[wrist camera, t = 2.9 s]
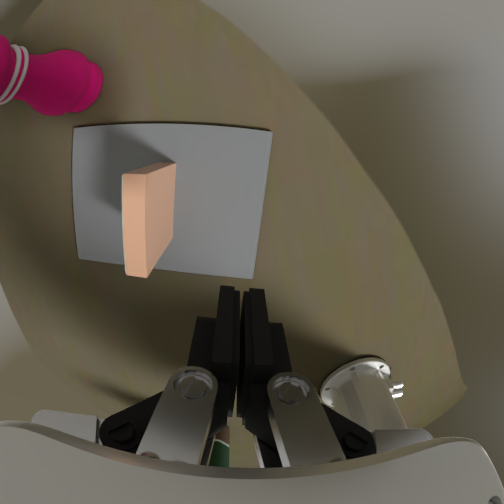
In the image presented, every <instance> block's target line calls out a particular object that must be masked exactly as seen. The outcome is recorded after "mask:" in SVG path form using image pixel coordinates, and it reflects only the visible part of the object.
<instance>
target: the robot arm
mask: <svg viewBox="0 0 504 504" xmlns="http://www.w3.org/2000/svg"><path fill="white" fill-rule="evenodd" d="M389 377H390V369H389V366H388V365H387V363H386V362H385V361H384V360H382V359H379V358H374V357H370V358H362V359H358V360H355V361H352V362H349V363H347V364H345V365H343V366H341V367H340V368H338V369H337V370H335V371H334V372H333V373H331V374H330V375H329V376H328V377H327V378H326V380H325V381H324V382H323V384H322V386H321V389H320V394H321V398H322V400H323V402H324V403H326V404H327V405H329V406H333V407H334V410H335V411H334V410H332V409H331V408H329V407H327V406H326V405H324V404H322V403H321V402H320V399H319V397H318V395H317V393H316V390H315V388H314V386H313V385H312V383H311V382H310V381H309V380H308V379H307V378H306V377H304V376H302V375H300V374H297V373H293V372H292V369H291V364H290V359H289V354H288V349H287V344H286V339H285V334H284V329H283V325H282V323H269V321H268V314H267V307H266V300H265V292H264V289H255V288H250V289H249V292H247V291H244V294H243V302H242V310H241V318H240V291H235V290H234V287H232V286H220V293H219V301H218V310H217V318H207V317H197V320H196V325H195V330H194V335H193V339H192V344H191V349H190V354H189V359H188V365H187V367H183V368H180V369H178V370H176V371H175V372H173V373H172V375H171V376H170V377H169V379H168V382H167V384H166V386H165V388H164V390H163V391H162V392H160V393H158V394H156V395H154V396H152V397H150V398H148V399H146V400H144V401H142V402H139V403H137V404H135V405H133V406H131V407H129V408H127V409H125V410H122V411H120V412H118V413H116V414H114V415H111V416H110V417H108V418H106V419H98V417H97V416H91V415H81V414H73V413H66V412H59V411H53V410H41V411H38V412H37V413H36V414H35V415H34V416H33V418H32V420H31V422H23V421H1V422H0V504H504V488H503V486H502V483H501V481H500V479H499V476H498V474H497V472H496V469H495V468H494V465H493V464H492V461H491V460H490V458H489V456H488V455H487V453H486V452H485V450H484V449H483V448H482V446H481V445H480V444H478V443H477V442H476V441H474V440H471V439H467V438H462V437H443V438H436V439H433V438H432V436H431V435H430V433H428V431H426V430H424V429H408V428H407V426H406V424H405V422H404V419H403V417H402V415H401V413H400V411H399V408H398V406H397V404H396V402H395V400H394V398H397V397H401V396H402V392H403V391H402V388H401V387H402V386H403V382H402V381H395V382H392V381H391V380H390V378H389ZM236 386H237V417H242V425H245V428H246V429H247V430H249V431H250V432H251V433H252V434H253V439H254V443H255V448H256V452H257V456H258V460H259V464H260V468H231V467H215V466H208V465H209V461H210V457H211V453H212V448H213V444H214V440H215V434H217V433H218V432H220V431H221V430H222V429H224V428H225V427H226V424H227V417H232V414H233V407H234V400H235V393H236Z"/></svg>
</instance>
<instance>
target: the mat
mask: <svg viewBox="0 0 504 504" xmlns="http://www.w3.org/2000/svg"><path fill="white" fill-rule="evenodd" d="M272 135H273V132H269V131H262V130H254V129H245V128H236V127H225V126H211V125H194V124H119V125H103V126H90V127H80V128H74V133H73V154H72V189H73V210H74V223H75V233H76V242H77V250H78V257H79V259H84V260H91V261H98V262H105V263H113V264H121V265H125V261H124V248H123V229H122V175H123V174H124V173H127V172H130V171H133V170H136V169H139V168H142V167H145V166H149V165H152V164H155V163H159V162H166V163H176V176H175V193H174V216H173V238H172V240H171V241H170V243H169V245H168V246H167V248H166V249H165V251H164V252H163V254H162V255H161V257H160V258H159V260H158V261H157V263H156V265H155V266H154V268H153V269H161V270H170V271H178V272H187V273H197V274H206V275H216V276H226V277H236V278H246V279H253V273H254V266H255V259H256V252H257V245H258V237H259V230H260V223H261V216H262V209H263V201H264V194H265V187H266V179H267V172H268V165H269V157H270V150H271V142H272Z"/></svg>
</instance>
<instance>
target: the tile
mask: <svg viewBox="0 0 504 504" xmlns="http://www.w3.org/2000/svg"><path fill="white" fill-rule="evenodd" d="M175 176H176V163H166V162H159V163H155V164H152V165H149V166H145V167H142V168H139V169H136V170H133V171H130V172H127V173H124V174H123V175H122V229H123V248H124V261H125V272H126V274H127V275H129V276H136V277H143V278H147V277H148V276H149V274H150V272H151V271H152V269H153V268H154V266H155V265H156V263H157V261H158V260H159V258H160V257H161V255H162V254H163V252H164V251H165V249H166V248H167V246H168V245H169V243H170V241H171V240H172V238H173V216H174V193H175Z"/></svg>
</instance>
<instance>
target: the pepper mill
mask: <svg viewBox="0 0 504 504" xmlns="http://www.w3.org/2000/svg"><path fill="white" fill-rule="evenodd" d="M102 84H103V74H102V71H101V69H100V67H99V66H98V65H97V64H95V63H92V62H90V61H88V60H87V58H86V57H85V56H84V55H83V54H82V53H80V52H77V51H73V50H58V51H54V52H50V53H47V54H43V55H32V54H28V51H27V49H26V48H25V47H23V46H17V45H15V44H13V45H10V43H9V41H8V40H7V38H6V37H4V36H2V35H0V104H5V103H7V102H8V101H9V100H11V99H18V100H22V101H25V102H26V103H28V104H29V105H30V106H31V107H32V108H33V109H34V110H35V111H37V112H39V113H41V114H43V115H48V116H58V115H62V114H65V113H66V112H74V113H76V112H81V111H83V110H85V109H87V108H88V107H89V106H91V105H92V104H93V102H94V101H95V100H96V99H97V97H98V95H99V93H100V91H101V88H102Z"/></svg>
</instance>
